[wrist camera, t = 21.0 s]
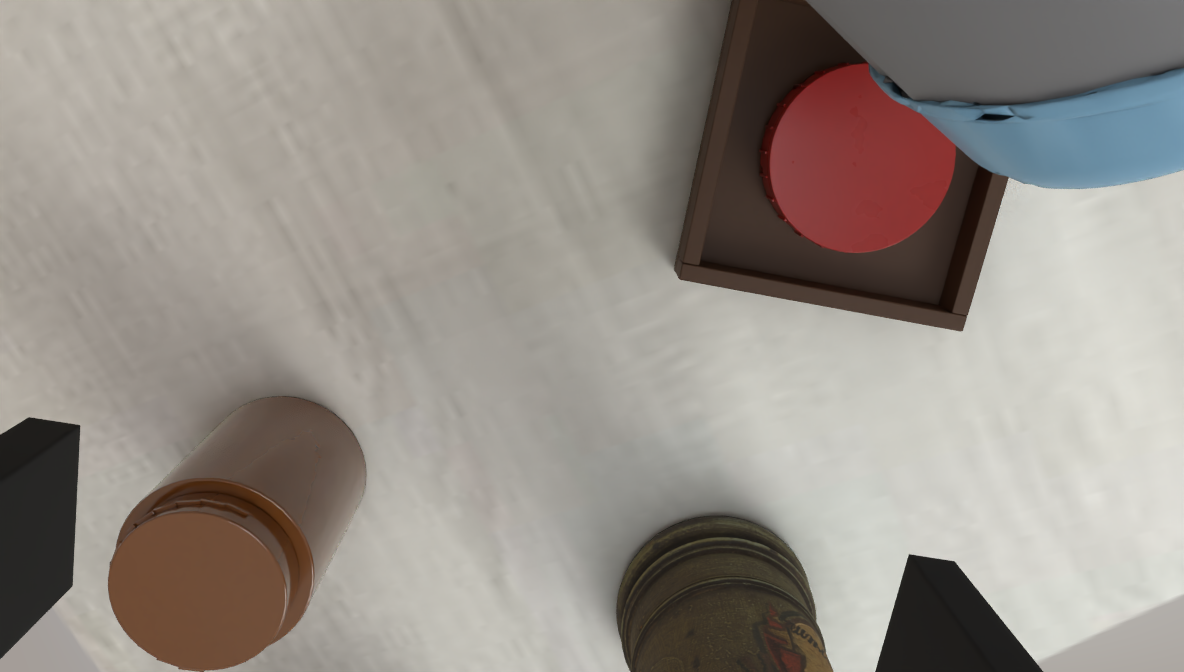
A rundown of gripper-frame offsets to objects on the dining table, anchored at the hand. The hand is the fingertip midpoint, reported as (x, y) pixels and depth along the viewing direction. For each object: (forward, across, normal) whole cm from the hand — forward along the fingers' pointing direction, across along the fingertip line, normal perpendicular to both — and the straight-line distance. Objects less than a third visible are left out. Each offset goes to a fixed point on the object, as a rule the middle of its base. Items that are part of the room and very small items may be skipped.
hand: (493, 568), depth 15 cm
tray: (+26, +12, +7) cm, 29 cm away
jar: (+26, -10, -11) cm, 30 cm away
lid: (+24, +12, +7) cm, 28 cm away
